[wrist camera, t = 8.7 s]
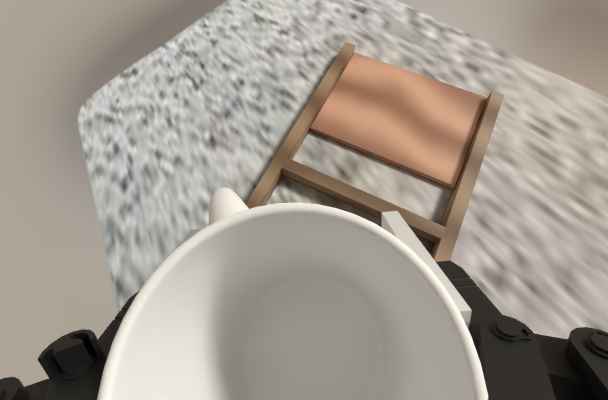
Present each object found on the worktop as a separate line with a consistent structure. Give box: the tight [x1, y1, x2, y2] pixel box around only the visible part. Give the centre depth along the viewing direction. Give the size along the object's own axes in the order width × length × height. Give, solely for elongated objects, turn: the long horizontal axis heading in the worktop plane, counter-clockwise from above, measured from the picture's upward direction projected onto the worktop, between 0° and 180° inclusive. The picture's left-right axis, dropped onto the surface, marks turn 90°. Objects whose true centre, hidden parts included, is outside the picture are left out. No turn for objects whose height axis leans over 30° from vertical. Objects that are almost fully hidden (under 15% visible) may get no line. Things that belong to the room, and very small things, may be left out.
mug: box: [97, 187, 488, 400], centre depth 12 cm, size 9×12×11 cm
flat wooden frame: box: [245, 42, 504, 262], centre depth 28 cm, size 35×18×2 cm, turn 153°
